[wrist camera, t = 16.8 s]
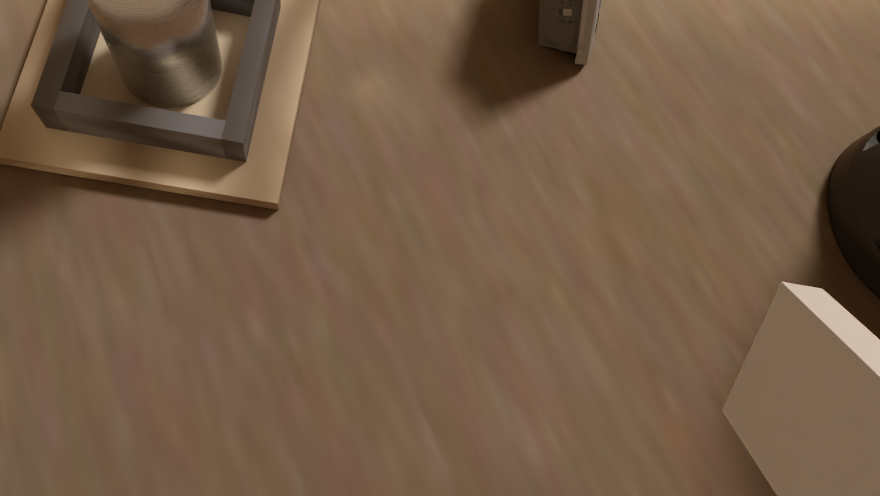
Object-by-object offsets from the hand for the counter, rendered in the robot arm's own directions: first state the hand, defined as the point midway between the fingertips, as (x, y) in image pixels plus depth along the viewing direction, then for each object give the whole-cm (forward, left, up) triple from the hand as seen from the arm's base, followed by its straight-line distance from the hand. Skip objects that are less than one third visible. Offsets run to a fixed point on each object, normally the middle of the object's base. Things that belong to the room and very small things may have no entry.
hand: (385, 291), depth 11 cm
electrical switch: (-12, -32, -30) cm, 45 cm away
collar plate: (+13, -21, -30) cm, 38 cm away
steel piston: (+13, -21, -29) cm, 38 cm away
